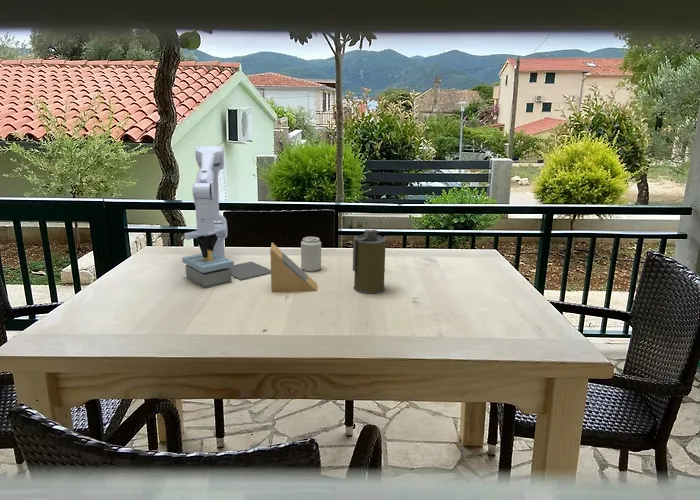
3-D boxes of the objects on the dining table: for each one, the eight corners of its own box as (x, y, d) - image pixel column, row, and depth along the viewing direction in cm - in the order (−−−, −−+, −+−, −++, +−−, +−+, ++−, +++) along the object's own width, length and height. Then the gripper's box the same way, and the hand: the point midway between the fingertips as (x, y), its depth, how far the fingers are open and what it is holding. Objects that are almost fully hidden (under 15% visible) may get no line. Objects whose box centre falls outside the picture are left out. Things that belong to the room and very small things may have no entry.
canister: (376, 282, 181) (378, 226, 176) (389, 291, 172) (392, 233, 166) (347, 285, 177) (348, 228, 172) (359, 295, 168) (360, 235, 162)
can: (318, 272, 190) (318, 241, 187) (298, 271, 191) (298, 240, 188) (323, 266, 197) (323, 236, 194) (303, 265, 198) (303, 235, 195)
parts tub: (186, 277, 182) (185, 265, 181) (212, 271, 189) (211, 260, 188) (204, 287, 172) (204, 275, 171) (231, 281, 179) (231, 269, 178)
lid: (182, 262, 181) (181, 247, 180) (212, 256, 188) (211, 242, 187) (202, 273, 170) (201, 257, 169) (233, 266, 177) (233, 251, 176)
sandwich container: (318, 291, 171) (318, 248, 167) (271, 292, 170) (270, 248, 166) (317, 283, 179) (317, 241, 175) (272, 283, 178) (271, 241, 174)
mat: (218, 269, 192) (218, 268, 191) (251, 262, 201) (251, 261, 200) (240, 280, 180) (240, 279, 180) (274, 272, 189) (274, 271, 189)
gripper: (190, 223, 167) (192, 263, 171) (230, 217, 177) (232, 255, 180) (180, 219, 172) (183, 258, 176) (220, 213, 182) (222, 251, 185)
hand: (207, 256), depth 178 cm, fingers closed on lid
